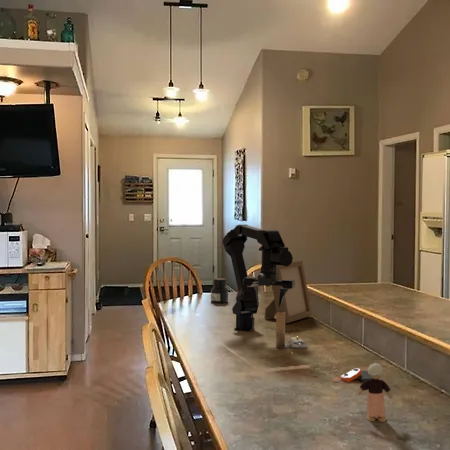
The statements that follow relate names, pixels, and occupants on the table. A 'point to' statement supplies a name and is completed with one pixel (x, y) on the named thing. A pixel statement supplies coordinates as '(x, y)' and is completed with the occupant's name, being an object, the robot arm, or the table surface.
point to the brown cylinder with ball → (281, 334)
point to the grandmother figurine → (375, 393)
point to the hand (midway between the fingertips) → (268, 305)
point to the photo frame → (291, 294)
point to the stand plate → (296, 340)
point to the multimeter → (354, 375)
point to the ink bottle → (219, 291)
